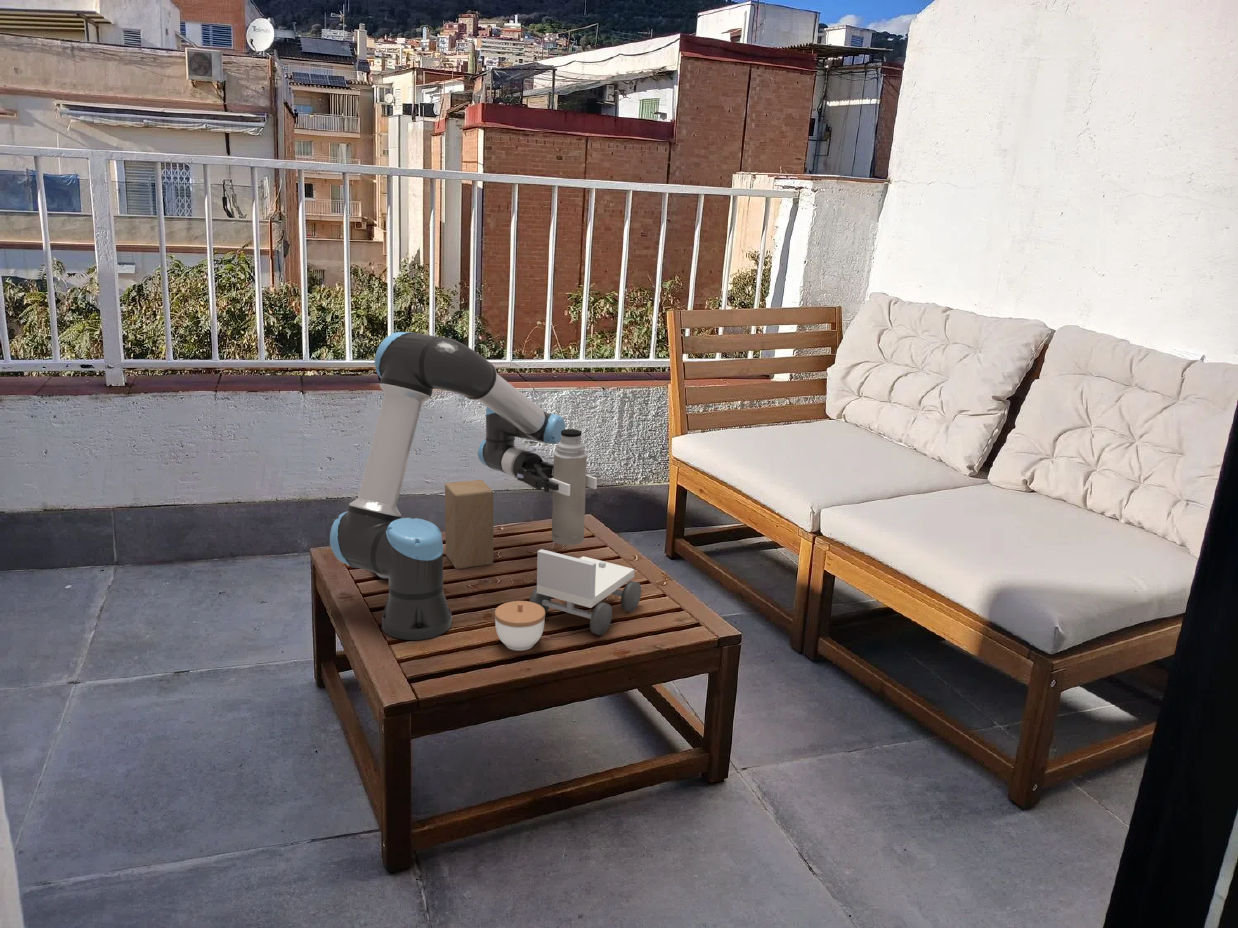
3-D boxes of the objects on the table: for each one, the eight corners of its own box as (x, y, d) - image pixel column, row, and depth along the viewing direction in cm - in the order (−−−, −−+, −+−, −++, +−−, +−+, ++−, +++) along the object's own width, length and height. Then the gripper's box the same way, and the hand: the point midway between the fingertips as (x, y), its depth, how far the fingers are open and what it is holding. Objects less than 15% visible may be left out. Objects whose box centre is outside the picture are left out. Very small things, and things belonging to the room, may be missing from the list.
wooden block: (445, 555, 255) (444, 482, 249) (482, 550, 259) (482, 478, 253) (455, 569, 246) (454, 494, 240) (493, 564, 250) (493, 490, 244)
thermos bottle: (546, 535, 245) (549, 427, 237) (576, 532, 248) (579, 425, 240) (558, 547, 238) (561, 436, 230) (588, 543, 241) (592, 433, 233)
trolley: (595, 640, 213) (598, 568, 208) (528, 620, 221) (529, 550, 216) (640, 605, 230) (643, 538, 225) (576, 588, 238) (578, 522, 233)
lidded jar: (484, 645, 208) (484, 605, 206) (516, 628, 217) (516, 589, 214) (523, 661, 203) (523, 620, 200) (554, 642, 211) (555, 602, 208)
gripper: (553, 471, 259) (613, 493, 244) (490, 486, 245) (549, 510, 229) (554, 444, 257) (614, 464, 241) (490, 457, 243) (549, 480, 227)
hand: (582, 487), depth 235 cm, fingers closed on thermos bottle, 8 cm apart
